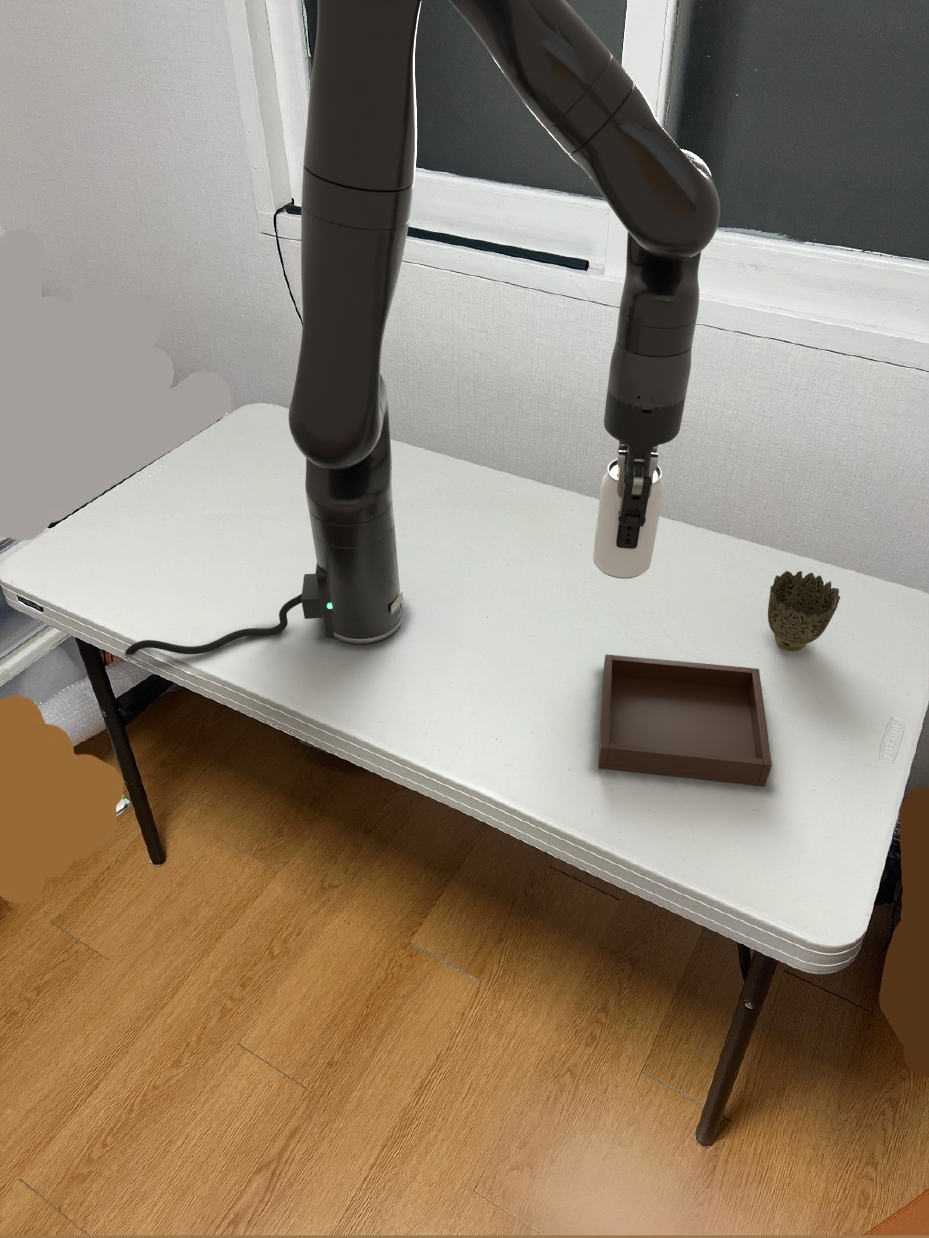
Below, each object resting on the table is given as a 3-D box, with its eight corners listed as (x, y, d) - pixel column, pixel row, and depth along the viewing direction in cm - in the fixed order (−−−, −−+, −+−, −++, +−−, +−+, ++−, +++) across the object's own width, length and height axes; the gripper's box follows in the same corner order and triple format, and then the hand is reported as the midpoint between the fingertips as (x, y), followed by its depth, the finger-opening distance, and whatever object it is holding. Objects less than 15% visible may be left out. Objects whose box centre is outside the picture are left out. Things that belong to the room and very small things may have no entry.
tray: (598, 768, 91) (600, 747, 89) (602, 675, 101) (605, 654, 99) (765, 786, 89) (772, 765, 87) (753, 689, 99) (759, 668, 97)
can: (648, 584, 97) (665, 491, 89) (589, 576, 98) (600, 484, 90) (651, 549, 102) (667, 458, 94) (594, 542, 103) (605, 451, 95)
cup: (811, 673, 101) (830, 621, 96) (748, 650, 104) (762, 598, 98) (829, 635, 106) (848, 583, 100) (768, 614, 108) (783, 562, 103)
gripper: (610, 350, 92) (594, 488, 103) (605, 419, 81) (588, 564, 92) (684, 355, 91) (660, 493, 102) (689, 425, 80) (662, 571, 91)
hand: (626, 526), depth 97 cm, fingers closed on can, 6 cm apart
